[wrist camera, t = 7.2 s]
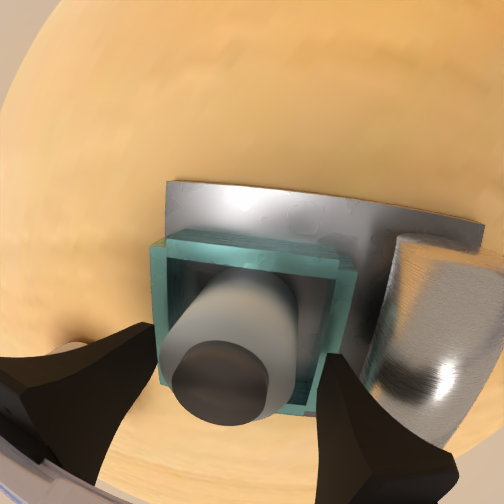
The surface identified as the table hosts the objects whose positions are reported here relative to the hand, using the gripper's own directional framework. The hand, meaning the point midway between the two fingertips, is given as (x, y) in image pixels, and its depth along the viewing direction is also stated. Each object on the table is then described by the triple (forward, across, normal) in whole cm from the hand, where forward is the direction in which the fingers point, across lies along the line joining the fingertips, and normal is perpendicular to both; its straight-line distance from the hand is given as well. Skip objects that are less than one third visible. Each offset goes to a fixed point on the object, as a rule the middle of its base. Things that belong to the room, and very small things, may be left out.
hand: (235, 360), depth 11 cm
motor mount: (+4, -4, 0) cm, 6 cm away
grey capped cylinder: (+3, 0, 0) cm, 3 cm away
